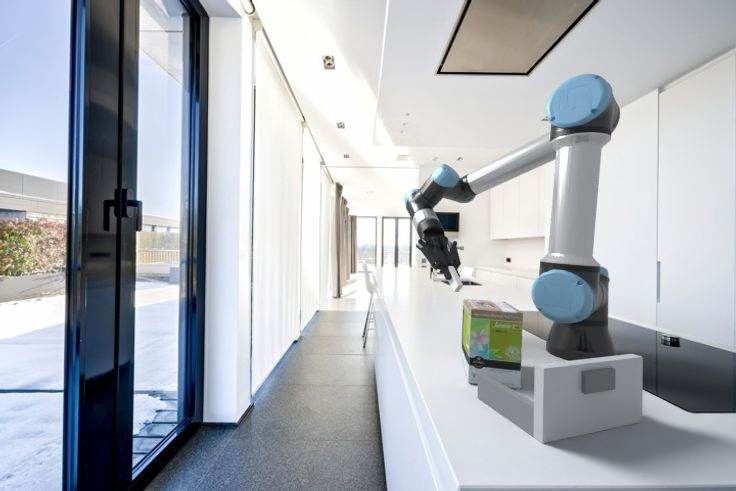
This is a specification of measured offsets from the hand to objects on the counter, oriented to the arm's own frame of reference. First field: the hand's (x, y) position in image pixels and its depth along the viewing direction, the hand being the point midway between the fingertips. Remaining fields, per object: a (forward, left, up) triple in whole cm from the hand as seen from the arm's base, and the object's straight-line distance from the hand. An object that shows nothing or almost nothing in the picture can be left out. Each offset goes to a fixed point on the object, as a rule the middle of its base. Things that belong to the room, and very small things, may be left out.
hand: (458, 288), depth 80 cm
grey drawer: (+1, +29, -16) cm, 33 cm away
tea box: (+1, +13, -17) cm, 21 cm away
